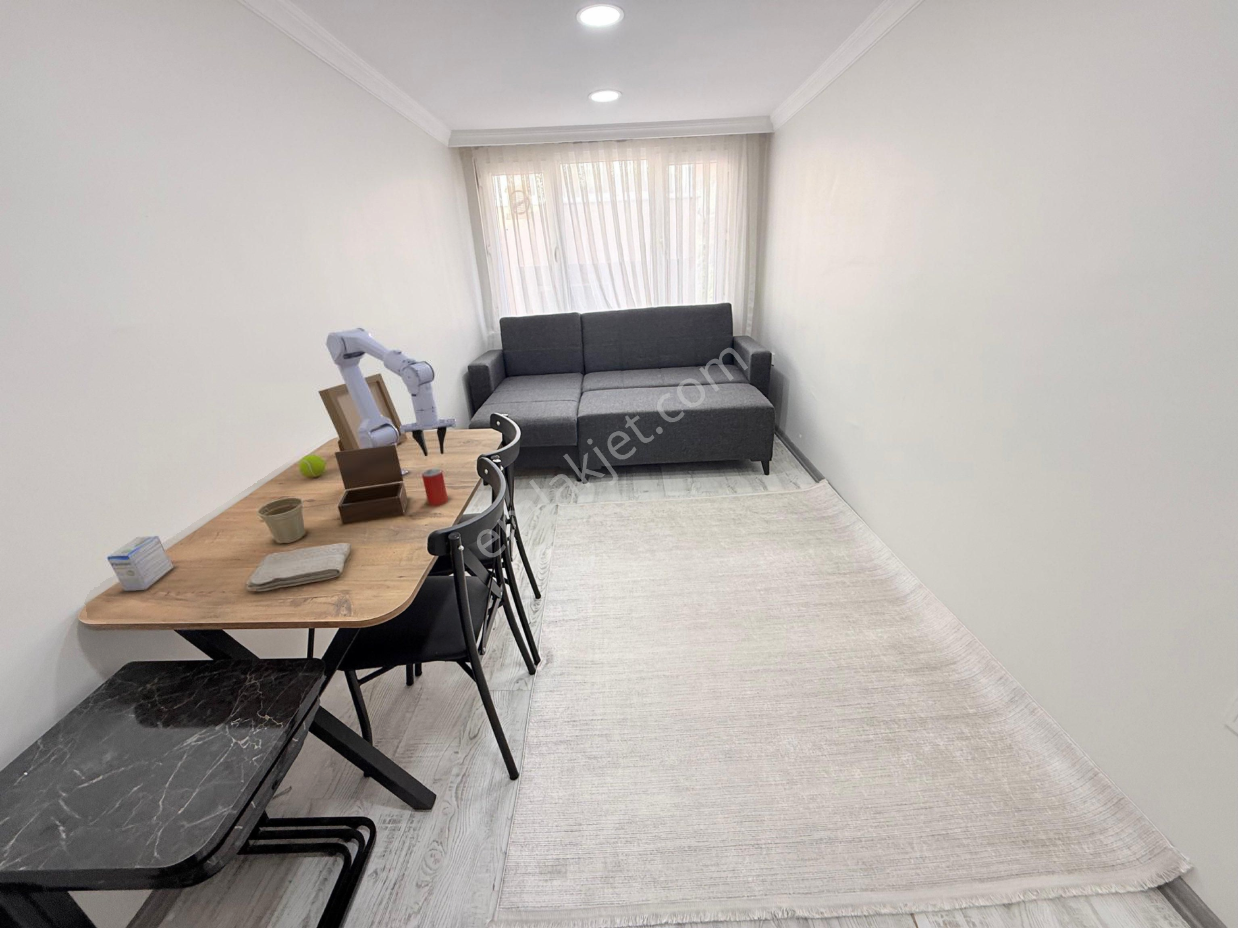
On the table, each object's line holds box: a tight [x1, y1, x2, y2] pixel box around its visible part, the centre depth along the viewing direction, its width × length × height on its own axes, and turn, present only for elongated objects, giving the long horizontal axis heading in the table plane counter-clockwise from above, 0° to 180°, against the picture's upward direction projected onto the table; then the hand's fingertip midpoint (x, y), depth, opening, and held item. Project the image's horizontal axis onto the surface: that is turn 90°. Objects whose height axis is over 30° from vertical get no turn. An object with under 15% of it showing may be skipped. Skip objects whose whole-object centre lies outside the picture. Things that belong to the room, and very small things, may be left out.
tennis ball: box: [298, 454, 327, 478], centre depth 153 cm, size 7×7×7 cm
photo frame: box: [318, 373, 408, 452], centre depth 169 cm, size 15×22×25 cm
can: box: [421, 468, 449, 507], centre depth 134 cm, size 5×5×9 cm
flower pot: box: [256, 496, 306, 544], centre depth 119 cm, size 9×9×9 cm
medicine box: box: [106, 535, 174, 592], centre depth 105 cm, size 8×4×9 cm, turn 5°
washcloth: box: [245, 542, 352, 592], centre depth 107 cm, size 12×18×3 cm, turn 107°
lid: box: [334, 445, 404, 490], centre depth 131 cm, size 10×15×1 cm
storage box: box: [337, 481, 409, 526], centre depth 130 cm, size 10×15×5 cm, turn 106°
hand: (434, 453), depth 140 cm, fingers open, 4 cm apart
